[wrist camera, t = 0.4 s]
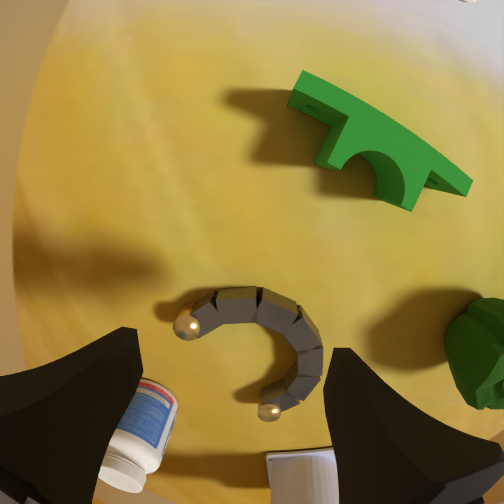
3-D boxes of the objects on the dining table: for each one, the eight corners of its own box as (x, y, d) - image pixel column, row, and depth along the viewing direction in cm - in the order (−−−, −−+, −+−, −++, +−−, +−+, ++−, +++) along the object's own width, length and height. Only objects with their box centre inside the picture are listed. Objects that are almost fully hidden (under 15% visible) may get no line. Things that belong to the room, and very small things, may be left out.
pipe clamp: (269, 141, 18) (269, 134, 13) (294, 91, 16) (301, 69, 12) (415, 221, 18) (449, 237, 14) (436, 175, 17) (474, 180, 13)
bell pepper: (434, 296, 20) (507, 371, 10) (504, 273, 19) (578, 325, 9) (426, 376, 22) (470, 454, 12) (491, 349, 21) (542, 409, 12)
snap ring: (266, 406, 23) (266, 424, 21) (176, 310, 21) (167, 325, 19) (345, 367, 22) (350, 385, 20) (263, 253, 19) (262, 264, 17)
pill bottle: (116, 376, 24) (70, 452, 14) (168, 377, 23) (130, 466, 14) (138, 416, 25) (104, 489, 16) (186, 418, 25) (161, 501, 15)
